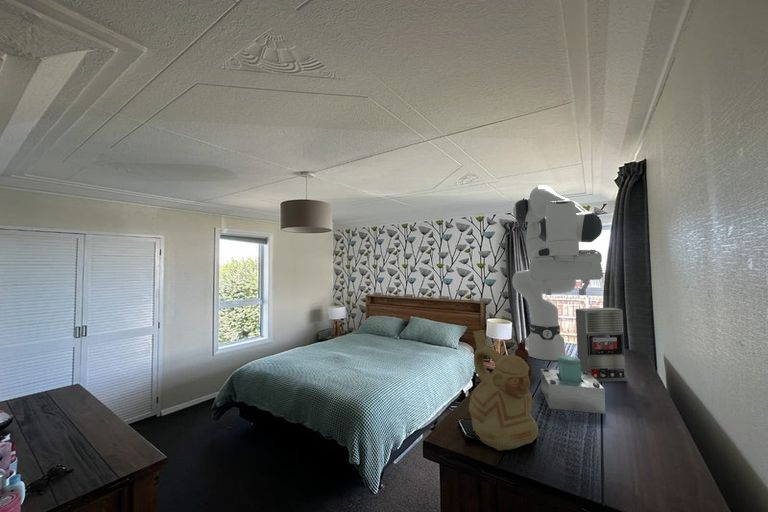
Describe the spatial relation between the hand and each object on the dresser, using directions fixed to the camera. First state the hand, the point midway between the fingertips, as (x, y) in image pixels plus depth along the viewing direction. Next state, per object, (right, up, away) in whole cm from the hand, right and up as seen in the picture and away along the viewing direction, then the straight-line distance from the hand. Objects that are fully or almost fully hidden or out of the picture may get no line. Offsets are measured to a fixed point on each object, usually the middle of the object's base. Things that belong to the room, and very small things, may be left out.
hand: (565, 294), depth 99 cm
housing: (0, -32, -2) cm, 32 cm away
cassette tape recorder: (+21, -32, +14) cm, 41 cm away
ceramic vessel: (-28, -33, -21) cm, 48 cm away
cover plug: (0, -32, -2) cm, 32 cm away
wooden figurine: (-6, -33, +16) cm, 37 cm away
